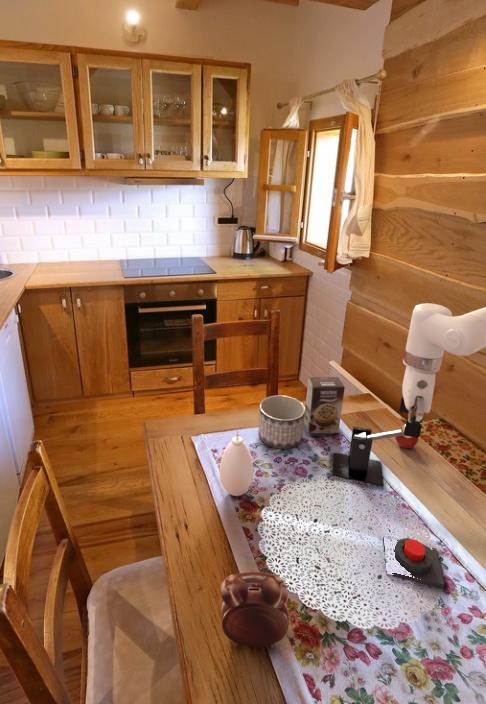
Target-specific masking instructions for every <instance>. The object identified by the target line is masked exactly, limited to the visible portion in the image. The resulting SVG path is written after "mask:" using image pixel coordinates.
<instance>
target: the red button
mask: <svg viewBox="0 0 486 704" xmlns="http://www.w3.org/2000/svg"><path fill="white" fill-rule="evenodd" d="M416 540H417V539H414V540H407V541H406V542H405V546H404V554H405V555H406V557H407V558H409V559H410V560H412V561H414V562H421V561H422V560H423V559H424V555H425V548H424V546H423V545H424V544H423V543H422V542H420V541H419V540H417V541H416ZM418 541H419V542H418ZM421 543H422V544H423V545H422V544H421Z"/></svg>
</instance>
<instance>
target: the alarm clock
mask: <svg viewBox="0 0 486 704" xmlns="http://www.w3.org/2000/svg"><path fill="white" fill-rule="evenodd" d="M247 576H249V577H247ZM250 576H254V577H250ZM255 576H259V577H255ZM243 577H247V578H243ZM261 577H264V578H261ZM220 585H221V586H220V596H221V598H222V603H221V612H220V613H221V615H220V616H221V628H222V631H223V633H224V634H225V636H226V637H227V638H228V639H229V641H230V640H231V641H232V642H234V643H233V645H234V647H236V646H238V645H240V646H242V647H249V648H265V647H269V646H270V647H271V648H274V645H275V644H277V643H278V642H280V641H282V640H283V639H284V638H285V636H286V635H287V633H288V630H289V609H288V604H287V600H288V597H289V589H288V586H287V584H286V582H285V581H284V579H282V577H280V576H278V575H276V574H272V573H269V572H264V571H245V572H239V573H237V574H234V573H233V574H230V575H228V576H226V578H224V579H223V581H222V583H221V584H220Z"/></svg>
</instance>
